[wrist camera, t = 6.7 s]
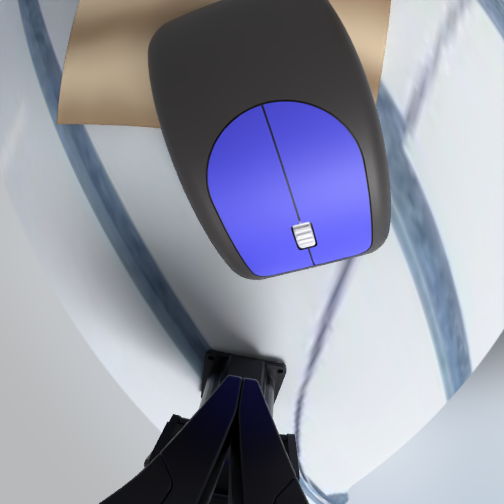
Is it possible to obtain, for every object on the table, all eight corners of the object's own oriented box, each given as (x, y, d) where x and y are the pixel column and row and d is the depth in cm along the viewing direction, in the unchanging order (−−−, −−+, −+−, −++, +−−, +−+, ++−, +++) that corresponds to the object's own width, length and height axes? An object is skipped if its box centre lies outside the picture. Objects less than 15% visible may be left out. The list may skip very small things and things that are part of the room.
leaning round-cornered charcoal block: (113, 22, 9) (320, -51, 7) (152, 36, 13) (311, -17, 11) (234, 319, 16) (407, 279, 14) (243, 273, 20) (384, 239, 18)
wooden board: (359, 163, 16) (362, 165, 16) (61, 123, 17) (56, 124, 16) (389, -10, 11) (391, -13, 11) (93, -25, 12) (88, -28, 11)
